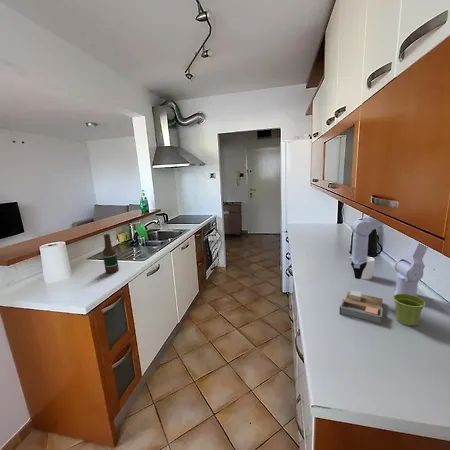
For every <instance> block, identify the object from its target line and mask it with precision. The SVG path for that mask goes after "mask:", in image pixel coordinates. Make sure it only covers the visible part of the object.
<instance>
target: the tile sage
mask: <svg viewBox="0 0 450 450" xmlns="http://www.w3.org/2000/svg"><path fill="white" fill-rule="evenodd" d="M350 292H351V293H350V299H353V300H357V301H361V297H362V295H363V293H362V292H360V291H354V290H351V291H350Z"/></svg>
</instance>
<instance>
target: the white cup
mask: <svg viewBox="0 0 450 450" xmlns="http://www.w3.org/2000/svg"><path fill="white" fill-rule="evenodd" d="M367 259H368V260H367V265H366V267H365V268H364V270H363V273H362V277H361V279H362V280H372V279H373V274H374V268H375V261H376V260H375V258H374V257H371V256H367ZM361 279H360V280H361Z"/></svg>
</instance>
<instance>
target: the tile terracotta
mask: <svg viewBox="0 0 450 450" xmlns="http://www.w3.org/2000/svg"><path fill="white" fill-rule="evenodd" d="M365 312H366V313H370V314H374V315H378V309H376V308H371V307H367V306H366V310H365Z"/></svg>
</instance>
